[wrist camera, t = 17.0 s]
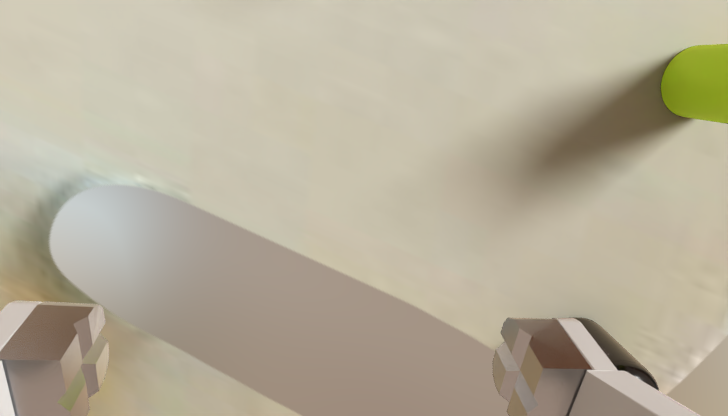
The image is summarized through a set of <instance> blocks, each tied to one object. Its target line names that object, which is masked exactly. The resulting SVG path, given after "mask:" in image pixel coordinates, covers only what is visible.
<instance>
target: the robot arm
mask: <svg viewBox="0 0 728 416" xmlns="http://www.w3.org/2000/svg"><path fill="white" fill-rule="evenodd" d="M104 324H105V316H104V310H103V308H102V307H101V306H100V305H99V304H81V303H62V302H40V301H13V302H10V303H8V304H7V305H6V306H5V307H4V308H3V309H2V311H1V312H0V416H87V414H88V412H89V410H90V407H89V401H88V398H89V397H91V396H92V395H93V394H95V393H96V392H98V391H99V390H100V388H101V386H102V383H103V381H104V379H105V376H106V371H107V367H108V363H109V346H108V340H107V339H106V338H105V337H103V336H102V335H101V334H100V331H101V330H102V328H103V326H104ZM501 335H502V337H503V338H504V340H505V342H504V343H502V344H501V345H500V346H499V347H498V348H497V349H496V351H495V355H494V359H493V377H494V381H495V385H496V388H497V390H498V392H499V394H500V395H501V396H502V397H504V398H505V399H506V400H507V401H509V402H510V403H509V406H508V409H507V413H508V415H509V416H700V415H699V414H697V413H695V412H693V411H692V410H690V409H689V408H687V407H685V406H683V405H681V404H680V403H678V402H677V401H675V400H673V399H672V398H670V397H668V396H667V395H665V394H663V393H662V392H660V391H658V390H657V389H655V388H653V387H651V386H650V385H648V384H646V383H645V382H643V381H641V380H640V379H638V378H636V377H635V376H633V375H631V374H630V373H628V372H626V371H618V370H617V369H616V367H615V366H614V365H613V363H612V362H611V361H610V359H609V358H608V357H607V356H606V354H605V353H604V352H603V350H602V349H601V348H600V347H599V345H598V344H597V343H596V341H595V340H594V339H593V337H592V336H591V335H590V334H589V332H588V331H587V330H586V328H585V327H584V326H583V325H582V323H581V322H580V321H578V320H577V319H575V318H552V319H539V318H507V319H506V321H505V322H504V323H503V327H502V330H501Z"/></svg>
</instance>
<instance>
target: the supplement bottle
mask: <svg viewBox="0 0 728 416" xmlns="http://www.w3.org/2000/svg"><path fill="white" fill-rule="evenodd" d="M575 319H577V320H578V321H580V322H581V323H582V325H583V326H584V327H585V328H586V330H587V331H588V332H589V334H590V335H591V336H592V337H593V339H594V340H595V341H596V343H597V344H598V345H599V347H600V348H601V349H602V350H603V352H604V353H605V354H606V356H607V357H608V358H609V359H610V361H611V362H612V363H613V365H614V366H615V367H616V369H617V370H618V371H626V372H628V373H630V374H631V375H633V376H635V377H636V378H638V379H640V380H641V381H643V382H645V383H646V384H648V385H650V386H651V387H653V388H655V389H657V390H658V391H659V388H658V385H657V382H656V380H655V379H654V377H653V376H652V375H651V373H650V372H649V371H648V370H647V369H646V368H645V367H644V366H643V365H641V364H640V363H639V362H638V361H637V360H636V359H635V358H634V357H633V356H632V355H631V354H630V353H629V352H628V351H627V350H626V349H625V348H623V347H622V346H621V345H620V344H619V343H618V342H617V341H616V340H615V339H614V338H613V337H612V336H611V335H610V334H609V333H608V332H607V331H605V330H604V329H603V328H602V327H601V326H600V325H598V324H597V323H596V322H594V321H592V320H589V319H585V318H575Z"/></svg>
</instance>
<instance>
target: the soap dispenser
mask: <svg viewBox="0 0 728 416" xmlns="http://www.w3.org/2000/svg"><path fill="white" fill-rule="evenodd" d="M661 95H662V99H663V101H664V103H665V105H666V106H667V108H668V109H669V110H670V111H671V112H673V113H674V114H676V115H678V116H682V117H687V118H694V119H700V120H707V121H714V122H720V123H727V124H728V44H717V45H698V46H693V47H690V48H687V49H685V50H683V51H682V52H680V53H679V54H678V55H676V56H675V57H674V58H673V59H672V60H671V62H670V63H669V64H668V66H667V68H666V70H665V72H664V74H663V77H662V81H661Z"/></svg>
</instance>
